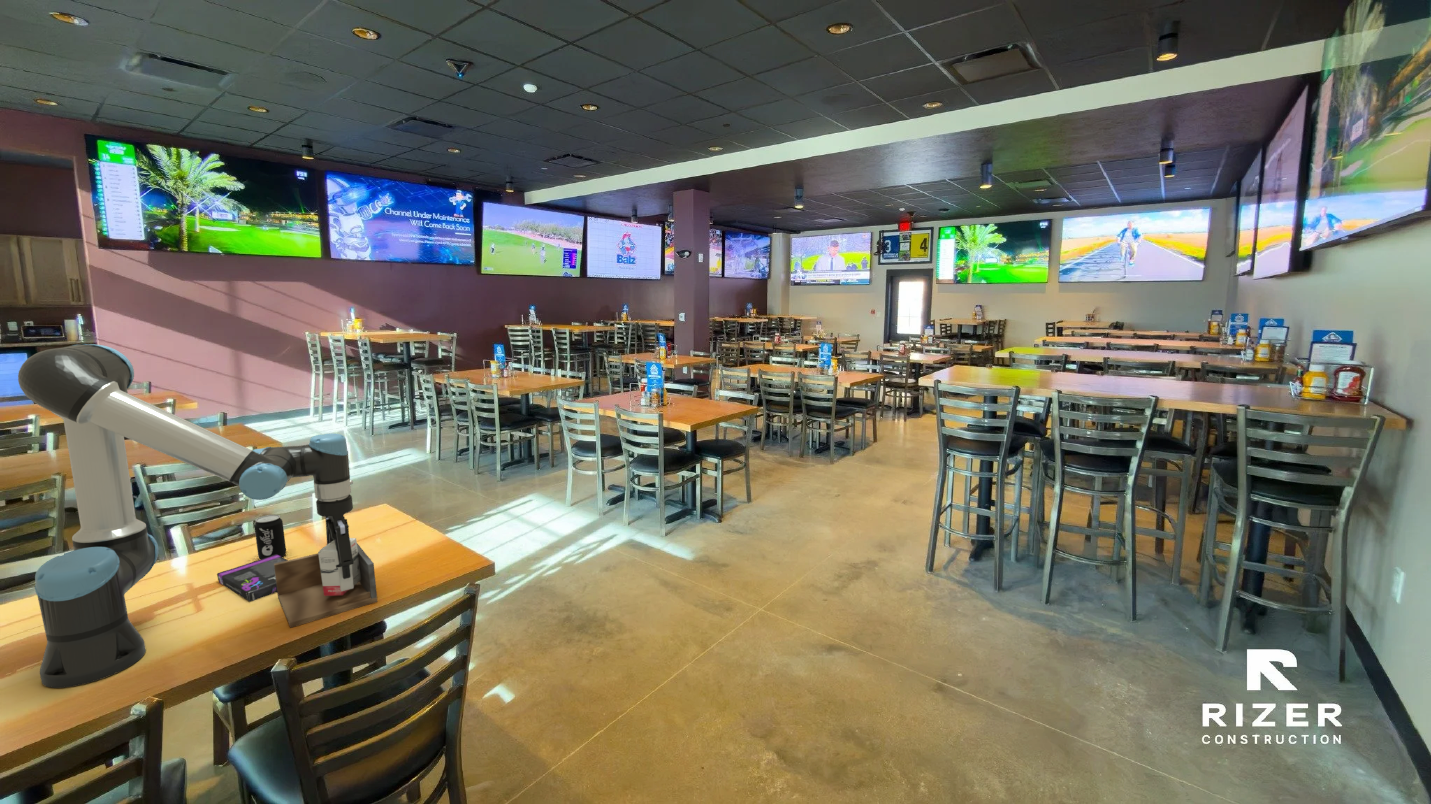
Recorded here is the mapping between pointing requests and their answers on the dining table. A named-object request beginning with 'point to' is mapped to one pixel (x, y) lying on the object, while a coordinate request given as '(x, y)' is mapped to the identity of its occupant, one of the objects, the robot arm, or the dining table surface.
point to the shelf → (319, 589)
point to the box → (252, 578)
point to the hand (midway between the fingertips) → (342, 582)
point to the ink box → (331, 573)
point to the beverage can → (270, 536)
